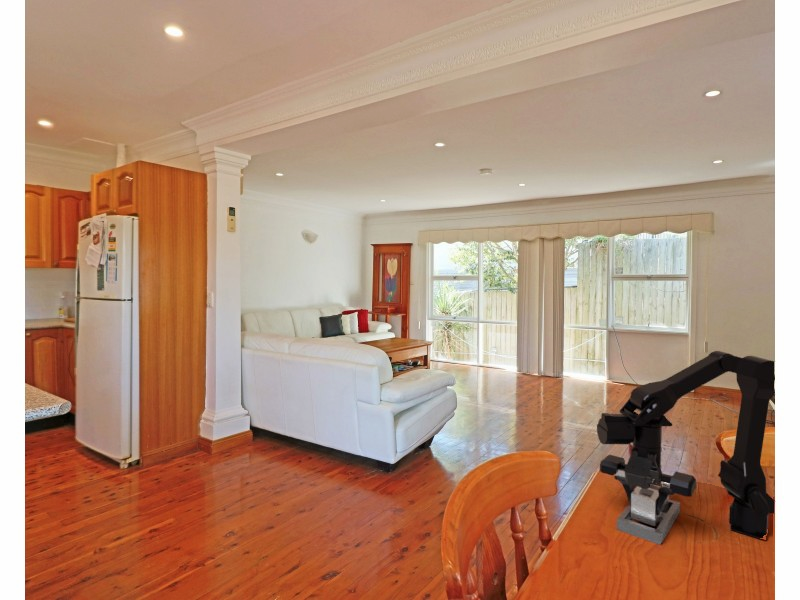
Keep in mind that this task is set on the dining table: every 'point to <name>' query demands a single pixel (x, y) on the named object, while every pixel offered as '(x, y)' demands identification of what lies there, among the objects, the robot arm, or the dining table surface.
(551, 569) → the dining table surface
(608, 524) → the dining table surface
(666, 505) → the nut
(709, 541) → the dining table surface
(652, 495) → the block
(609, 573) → the dining table surface
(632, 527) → the grey flat frame
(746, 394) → the robot arm
